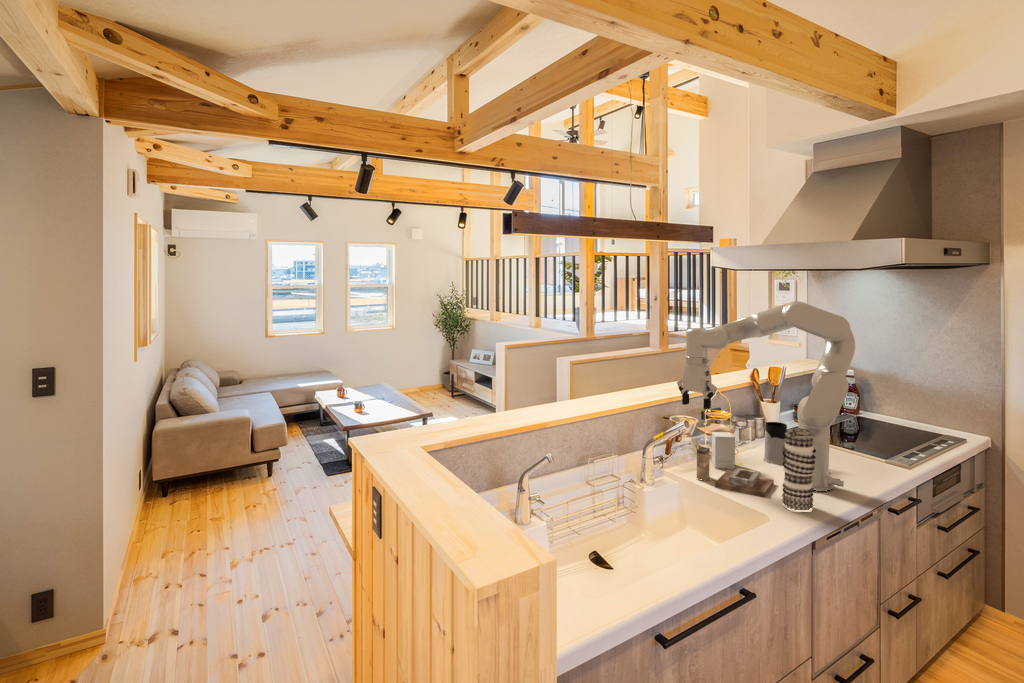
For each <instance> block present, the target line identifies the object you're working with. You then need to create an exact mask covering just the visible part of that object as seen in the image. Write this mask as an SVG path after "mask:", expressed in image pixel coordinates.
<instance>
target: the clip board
mask: <svg viewBox="0 0 1024 683" xmlns="http://www.w3.org/2000/svg"><path fill="white" fill-rule="evenodd" d="M760 473H761V472H760V471H757V470H751V469H745V468H740V467H737V468H736V469H735V470H734V471H727V470H726V471H725V472H724V473H722V475H721V476H720V477H719V478H718V479H717V480H716V481H715V482H714V487H715V488H718V489H719V488H720V489H722V490H723V489H724V490H727V491H728V490H729V491H734V492H739V493H744V494H748V495H754V496H758V497H763V498H765V497H766V496H767V494H768V493H769V491H770V490H771V488H772V487H773V486H774V484H775V480H774V479H771V478H764V477H761V474H760Z"/></svg>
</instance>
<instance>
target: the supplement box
mask: <svg viewBox="0 0 1024 683" xmlns="http://www.w3.org/2000/svg"><path fill="white" fill-rule="evenodd" d="M735 448H736V437H735V435H734V434H733V433H732V432H727V431H726V432H725V431H724V432H723V431H712V432H711V464H712V466H713V467H714V468H715V469H725V468H727V470H730V469H731V470H734V469H735V468H736V467H735V464H736V463H735V462H736V461H735V460H736V459H735V458H736V456H735V455H736V449H735Z"/></svg>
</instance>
